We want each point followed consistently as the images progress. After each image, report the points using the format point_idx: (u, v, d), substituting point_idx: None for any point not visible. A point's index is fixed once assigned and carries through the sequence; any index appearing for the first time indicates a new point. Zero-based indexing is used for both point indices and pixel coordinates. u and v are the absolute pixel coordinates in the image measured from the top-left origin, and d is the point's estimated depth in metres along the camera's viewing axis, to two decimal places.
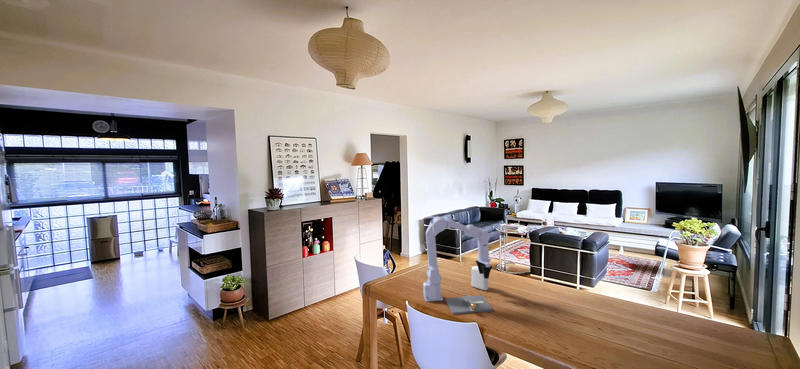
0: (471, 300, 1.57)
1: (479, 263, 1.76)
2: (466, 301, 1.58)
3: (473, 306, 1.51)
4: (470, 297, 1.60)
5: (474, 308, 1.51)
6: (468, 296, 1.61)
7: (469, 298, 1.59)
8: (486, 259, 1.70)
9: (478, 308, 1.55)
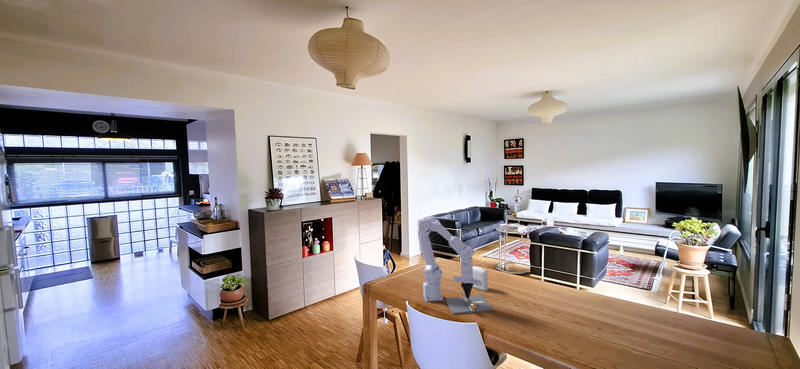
0: (471, 300, 1.57)
1: None
2: (466, 301, 1.58)
3: (473, 306, 1.51)
4: (470, 297, 1.60)
5: (474, 308, 1.51)
6: None
7: (469, 298, 1.59)
8: None
9: (478, 308, 1.55)
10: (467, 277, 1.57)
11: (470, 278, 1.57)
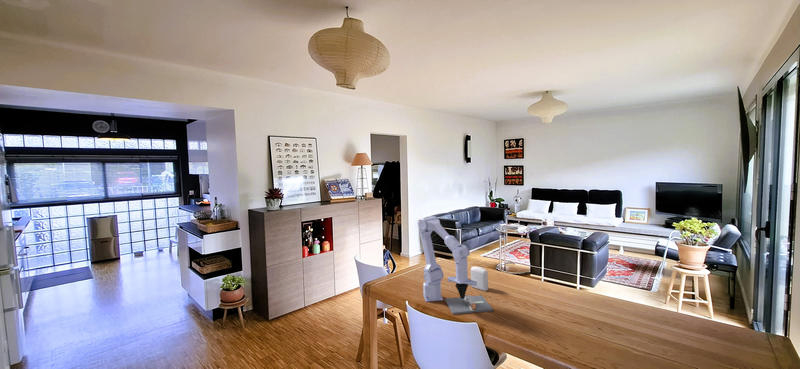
0: (471, 300, 1.57)
1: None
2: (466, 301, 1.58)
3: (473, 306, 1.51)
4: (470, 297, 1.60)
5: (474, 308, 1.51)
6: (468, 296, 1.61)
7: (469, 298, 1.59)
8: None
9: (478, 308, 1.55)
10: (462, 277, 1.52)
11: (465, 278, 1.52)
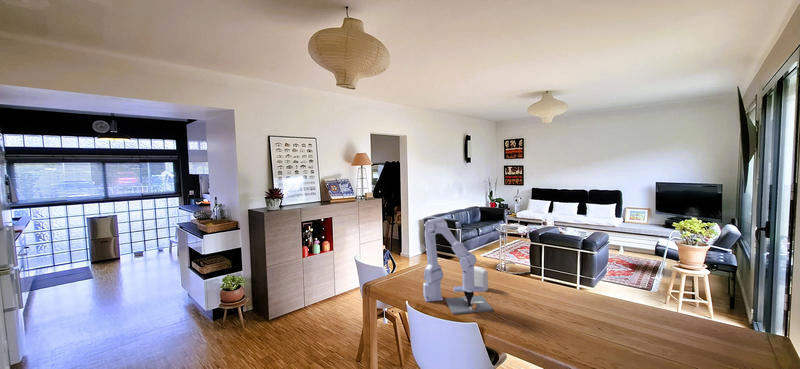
0: (471, 300, 1.57)
1: None
2: (466, 301, 1.58)
3: (474, 306, 1.51)
4: None
5: (475, 308, 1.51)
6: None
7: None
8: (463, 286, 1.53)
9: (478, 308, 1.55)
10: (471, 285, 1.51)
11: (473, 286, 1.52)
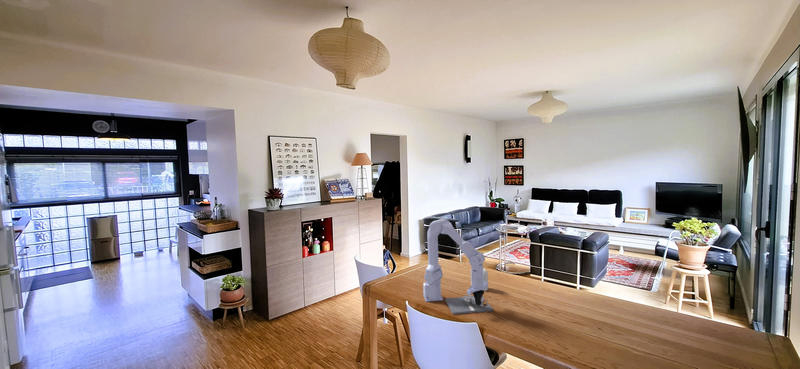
0: None
1: (475, 292, 1.56)
2: (470, 301, 1.58)
3: (486, 302, 1.54)
4: (469, 296, 1.61)
5: None
6: (466, 296, 1.61)
7: (471, 297, 1.60)
8: (475, 286, 1.53)
9: (478, 308, 1.55)
10: (483, 283, 1.54)
11: None
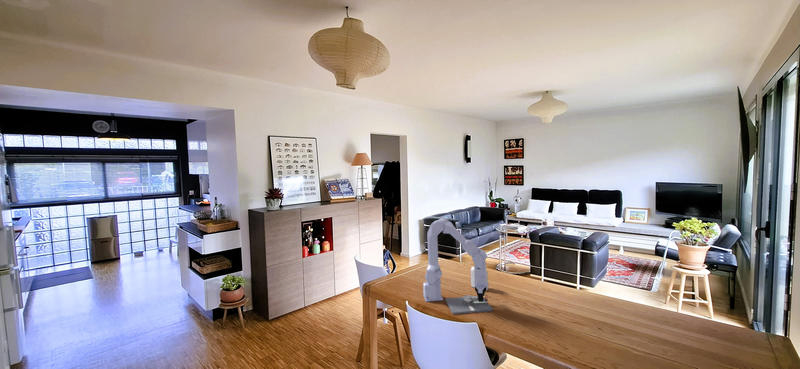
0: (475, 296, 1.61)
1: (478, 290, 1.58)
2: (472, 300, 1.59)
3: (487, 297, 1.60)
4: (468, 296, 1.62)
5: None
6: (466, 296, 1.61)
7: (470, 296, 1.61)
8: (481, 284, 1.55)
9: (478, 308, 1.55)
10: None
11: None
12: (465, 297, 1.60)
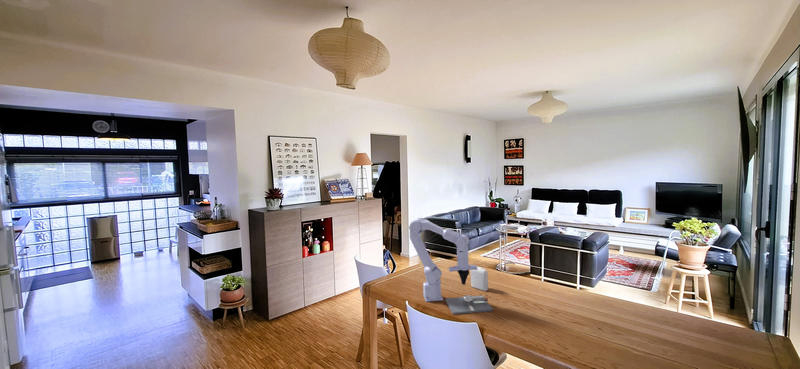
0: (475, 296, 1.61)
1: None
2: (472, 300, 1.59)
3: (487, 297, 1.60)
4: (468, 296, 1.62)
5: None
6: (466, 296, 1.61)
7: (470, 296, 1.61)
8: (458, 266, 1.62)
9: (478, 308, 1.55)
10: (466, 264, 1.61)
11: (468, 264, 1.62)
12: (465, 297, 1.60)
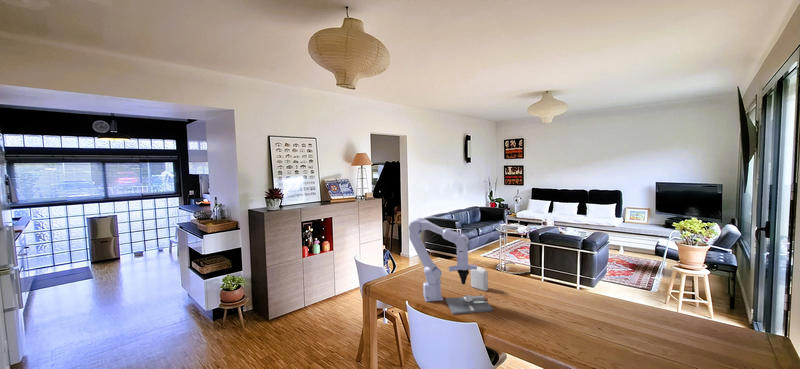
0: (475, 296, 1.61)
1: None
2: (472, 300, 1.59)
3: (487, 297, 1.60)
4: (468, 296, 1.62)
5: None
6: (466, 296, 1.61)
7: (470, 296, 1.61)
8: (457, 265, 1.62)
9: (478, 308, 1.55)
10: (466, 264, 1.61)
11: (467, 264, 1.62)
12: (465, 297, 1.60)
